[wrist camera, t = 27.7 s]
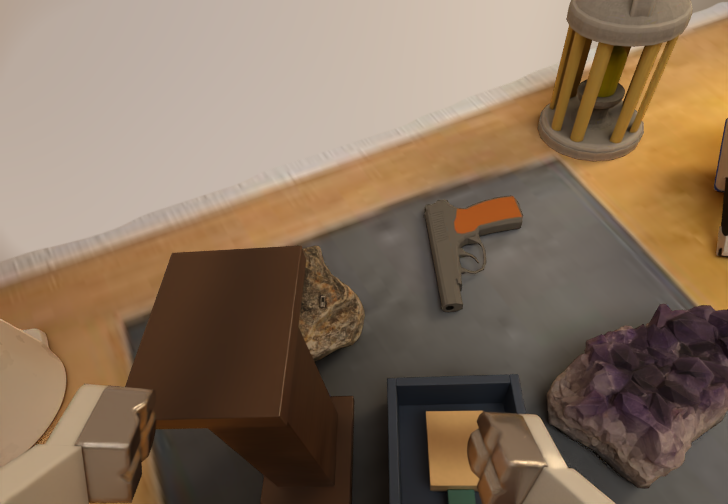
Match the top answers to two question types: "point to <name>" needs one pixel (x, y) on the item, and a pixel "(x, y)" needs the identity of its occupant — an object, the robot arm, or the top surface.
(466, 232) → the handgun
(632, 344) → the geode
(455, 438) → the brush
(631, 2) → the lantern
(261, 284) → the stand
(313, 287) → the stone
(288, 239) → the top surface
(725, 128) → the robotic device
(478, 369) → the top surface
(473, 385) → the desk bin
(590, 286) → the top surface
